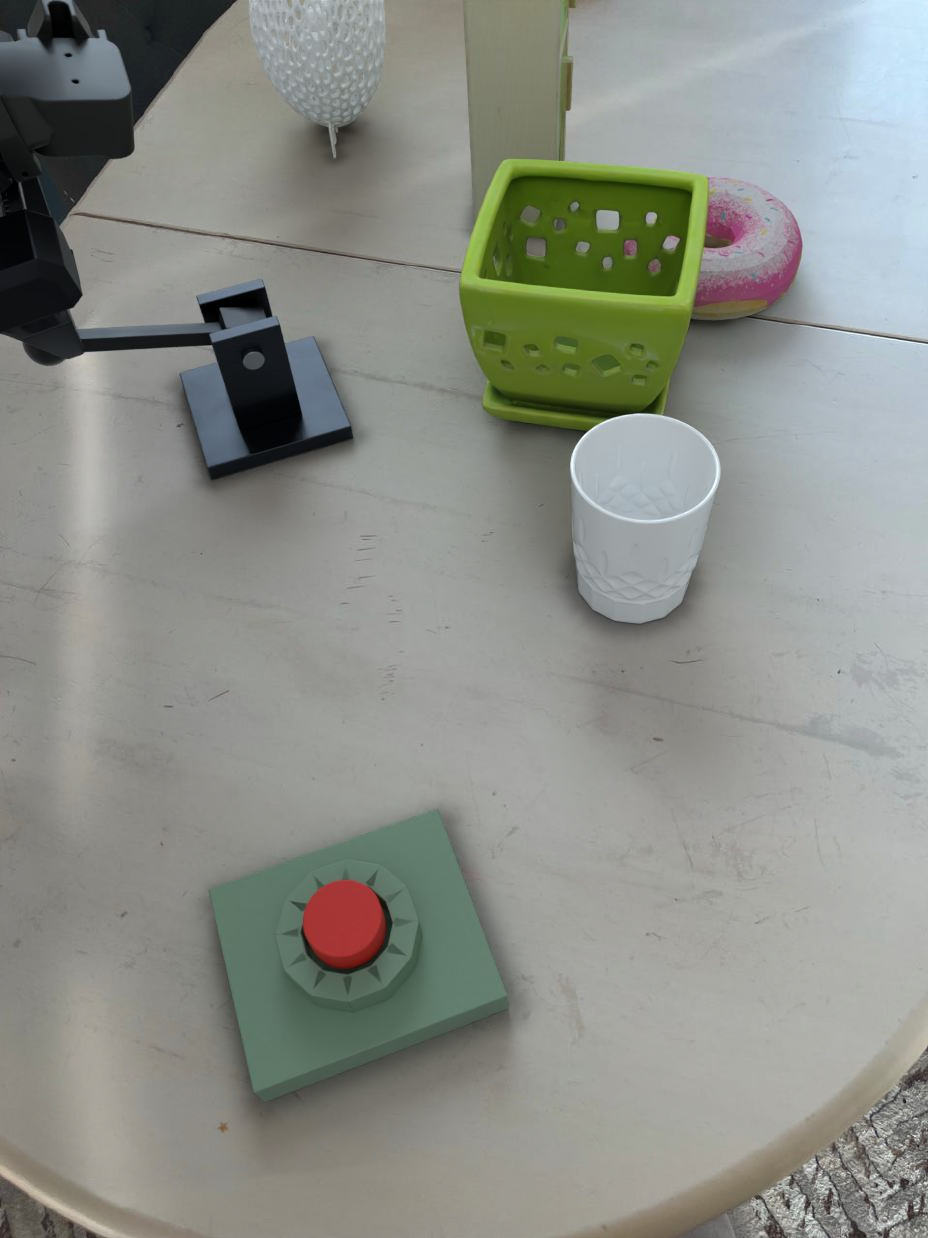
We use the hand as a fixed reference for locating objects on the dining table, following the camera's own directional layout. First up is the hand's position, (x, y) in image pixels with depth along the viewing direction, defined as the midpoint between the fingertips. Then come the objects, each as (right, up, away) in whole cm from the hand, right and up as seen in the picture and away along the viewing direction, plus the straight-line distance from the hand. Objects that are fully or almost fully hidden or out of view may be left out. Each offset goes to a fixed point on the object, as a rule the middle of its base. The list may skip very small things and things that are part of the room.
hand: (61, 294), depth 60 cm
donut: (+41, +8, +21) cm, 46 cm away
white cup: (+33, -16, +5) cm, 37 cm away
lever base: (+9, -4, +15) cm, 18 cm away
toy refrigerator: (+28, +15, +27) cm, 42 cm away
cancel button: (+17, -33, -10) cm, 38 cm away
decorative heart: (+11, +26, +36) cm, 45 cm away
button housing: (+17, -35, -7) cm, 40 cm away
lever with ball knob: (+2, -1, +8) cm, 9 cm away
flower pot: (+31, -2, +15) cm, 34 cm away
